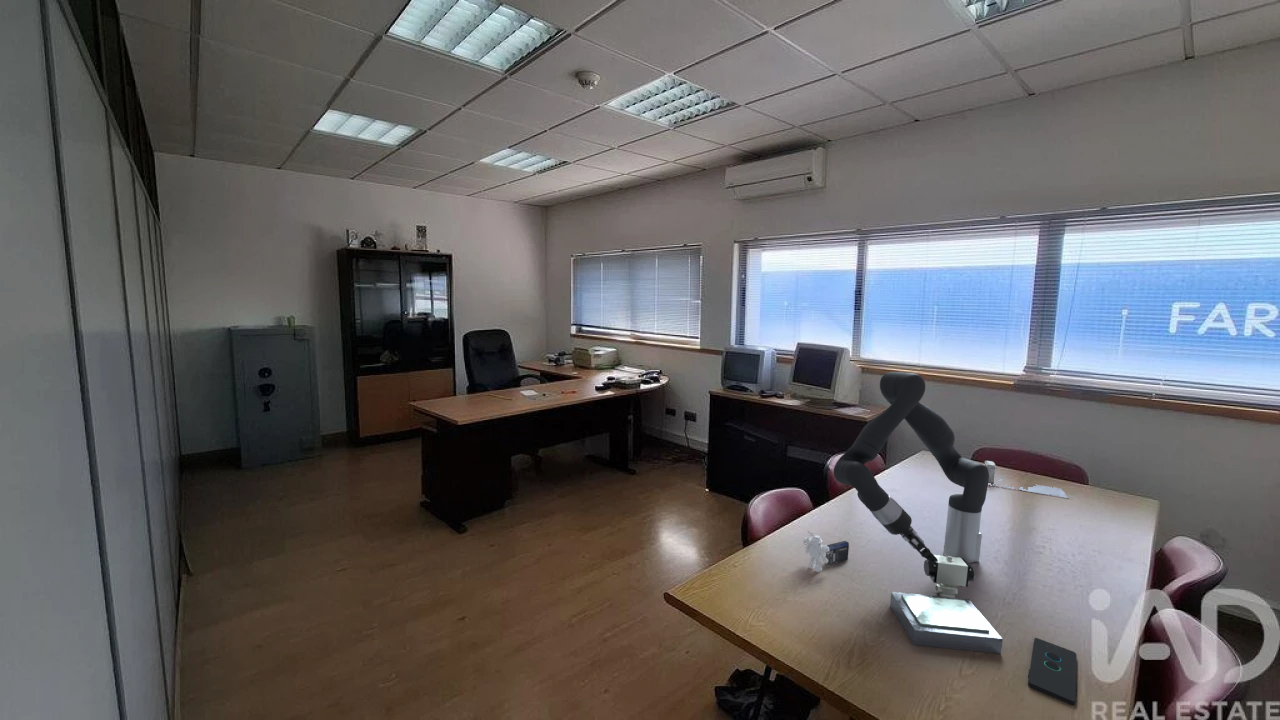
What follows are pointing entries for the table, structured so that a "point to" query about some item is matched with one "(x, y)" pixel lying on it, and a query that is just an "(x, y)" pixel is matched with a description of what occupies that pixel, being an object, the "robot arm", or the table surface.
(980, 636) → the grey picture frame
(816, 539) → the hat wearing toy figure
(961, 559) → the pneumatic valve
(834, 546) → the mini dv tape
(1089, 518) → the table surface
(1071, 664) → the smart home device
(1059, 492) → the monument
